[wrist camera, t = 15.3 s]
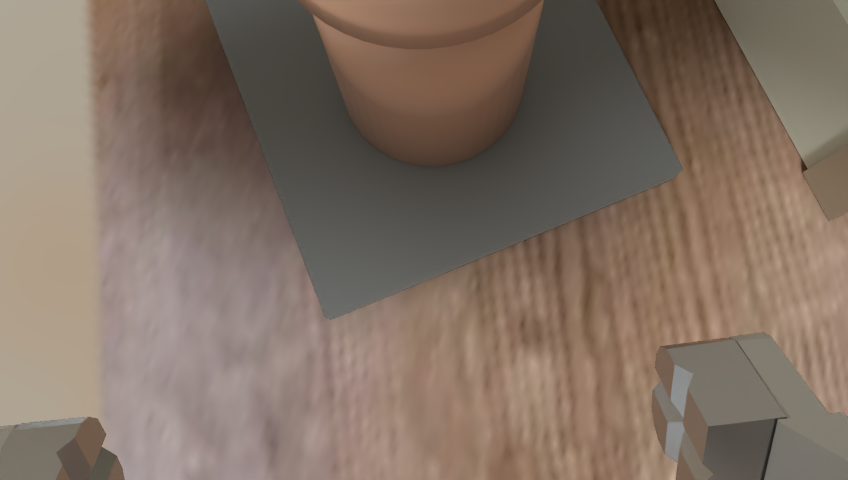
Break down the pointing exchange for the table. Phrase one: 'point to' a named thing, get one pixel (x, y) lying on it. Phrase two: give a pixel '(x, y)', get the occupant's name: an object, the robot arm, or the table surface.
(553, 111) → the rubber mat
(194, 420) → the table surface
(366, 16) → the terracotta pot
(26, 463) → the robot arm
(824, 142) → the raised garden bed frame
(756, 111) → the table surface
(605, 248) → the table surface
